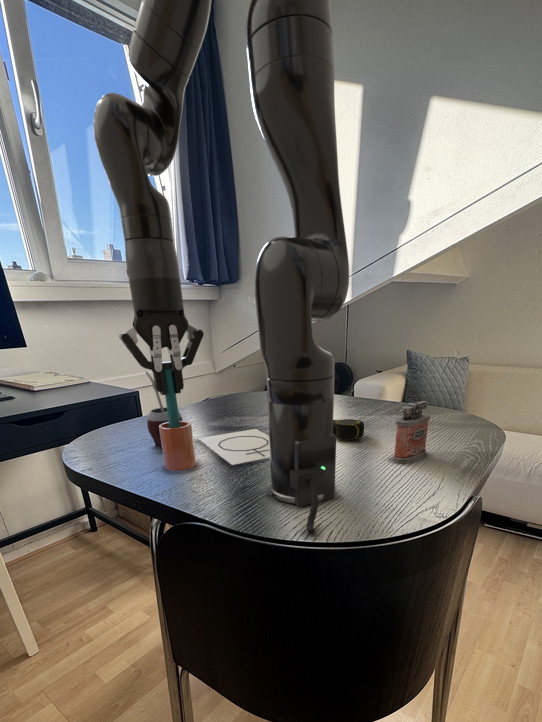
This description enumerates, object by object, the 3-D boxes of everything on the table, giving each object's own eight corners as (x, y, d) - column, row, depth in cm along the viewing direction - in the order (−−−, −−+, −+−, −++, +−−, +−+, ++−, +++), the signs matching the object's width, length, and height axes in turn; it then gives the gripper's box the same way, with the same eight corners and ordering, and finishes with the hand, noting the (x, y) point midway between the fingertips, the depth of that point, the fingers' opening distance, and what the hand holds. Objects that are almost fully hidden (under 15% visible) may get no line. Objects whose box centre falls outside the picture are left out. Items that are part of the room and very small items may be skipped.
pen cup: (199, 469, 73) (194, 425, 70) (170, 475, 71) (163, 430, 68) (191, 460, 78) (185, 419, 74) (162, 466, 76) (155, 423, 72)
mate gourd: (178, 454, 82) (167, 376, 75) (141, 453, 83) (128, 376, 77) (191, 443, 88) (182, 371, 82) (157, 442, 90) (146, 371, 83)
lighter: (404, 464, 72) (409, 408, 68) (388, 460, 75) (392, 405, 70) (429, 454, 77) (436, 400, 73) (414, 450, 79) (419, 398, 75)
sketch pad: (299, 453, 80) (299, 450, 79) (232, 467, 74) (231, 464, 73) (255, 430, 96) (255, 428, 95) (198, 440, 90) (197, 437, 90)
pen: (183, 439, 72) (173, 362, 67) (172, 441, 71) (161, 363, 66) (180, 437, 73) (170, 361, 68) (170, 438, 73) (158, 362, 67)
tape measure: (361, 433, 91) (362, 417, 89) (365, 442, 85) (366, 425, 83) (330, 434, 91) (330, 417, 90) (332, 443, 85) (332, 425, 83)
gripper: (109, 274, 56) (132, 402, 63) (206, 275, 61) (216, 392, 69) (103, 278, 62) (124, 394, 69) (191, 278, 68) (202, 386, 75)
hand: (170, 393), depth 69 cm, fingers closed on pen, 2 cm apart
